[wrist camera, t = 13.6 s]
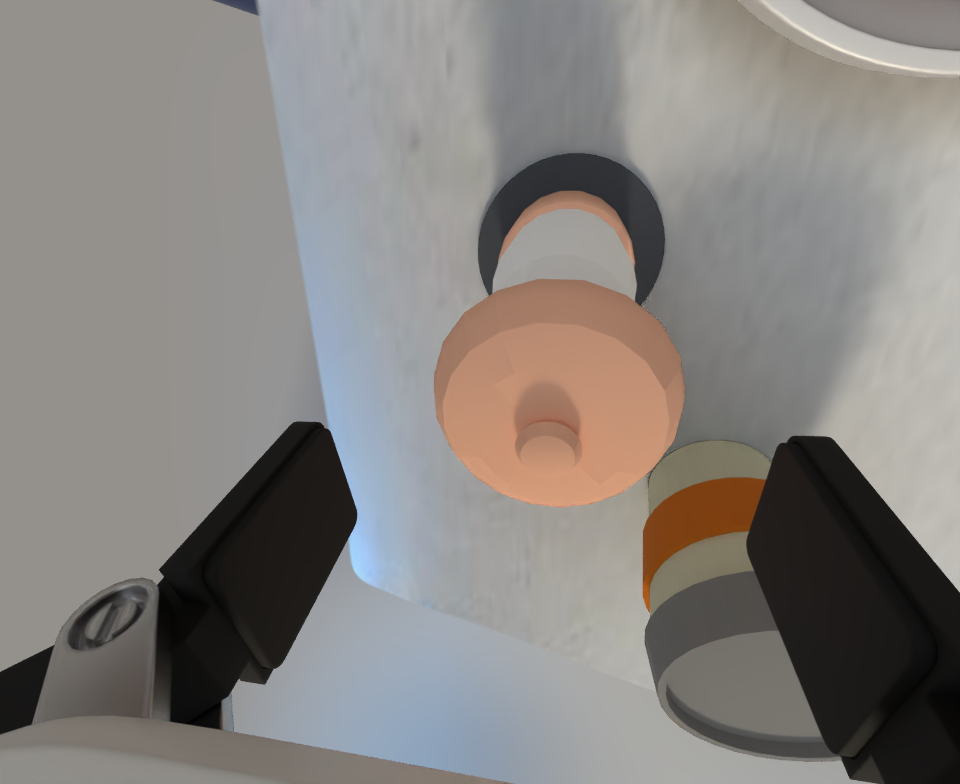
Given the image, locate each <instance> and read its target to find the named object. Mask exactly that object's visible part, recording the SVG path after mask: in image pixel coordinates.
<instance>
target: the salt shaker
mask: <svg viewBox="0 0 960 784" xmlns="http://www.w3.org/2000/svg"><path fill="white" fill-rule="evenodd" d="M634 266H635V259H634V253H633V247H632V242H631V239H630V237H629V235H628V232H627V230H626V228H625V226H624V225H623V223H622V221H621V219H620V218H619V216H618V214H617V212H616V211H615V210H614V209H613V208H612V207H611V206H609V205H608V204H607V203H606V202H605V201H603V200H602V199H601V198H600V197H597V196H594V195H591V194H588V193H586V192H583V191H558V192H555V193H552V194H550V195H547V196H544V197H541V198H539V199H538V200H537V201H535V202H534V203H533V204H531V205H530V206H529V207H527V208H526V209H525V210H524V211H523V212H522V214H521V215H520V216H519V218H518V219H517V221H516V222H515V224H514V225H513V226H512V228H511V229H510V231H509V233H508V234H507V236H506V237H505V239H504V242H503V246H502V249H501V252H500V255H499V258H498V266H497V269H496V272H495V275H494V278H493V292H492V294H491V295H490V296H488V297H487V298H486V299H484V300H483V301H481V302H480V303H478V304H477V305H475V306H474V307H472V308H471V309H469V310H468V311H466V312H465V313H464V314H463V316H462V317H461V318H460V320H459V321H458V322H457V324H456V325H455V326H454V328H453V329H452V331H451V332H450V333H449V335H448V336H447V337H446V339H445V340H444V342H443V345H442V348H441V352H440V356H439V359H438V363H437V366H436V370H435V375H434V393H435V404H436V415H437V419H438V421H439V424H440V426H441V428H442V430H443V432H444V435H445V437H446V439H447V441H448V443H449V446H450V447H451V448H452V450H453V451H454V453H455V454H456V456H457V457H458V458H459V459H460V460H461V461H462V463H463V464H464V465H465V466H466V467H467V468H468V469H469V470H470V472H471V473H472V474H473V475H474V476H475V477H476V478H478V479H479V480H481V481H482V482H484V483H485V484H487V485H488V486H490V487H491V488H493V489H494V490H496V491H498V492H499V493H501V494H504V495H507V496H509V497H512V498H515V499H518V500H521V501H523V502H526V503H529V504H537V505H545V506H554V507H567V506H577V505H586V504H592V503H595V502H598V501H601V500H603V499H606V498H609V497H612V496H614V495H617V494H620V493H622V492H623V491H624V490H626V489H627V488H628V487H630V486H631V485H633V484H634V483H635V482H637V481H638V480H640V479H641V478H642V477H644V476H645V475H646V474H647V473H648V472H650V471H651V470H652V469H653V468H654V467H655V466H656V464H657V463H658V462H659V460H660V459H661V458H662V456H663V455H664V453H665V452H666V451H667V449H668V448H669V447H670V445H671V444H672V442H673V441H674V440H675V436H676V433H677V429H678V425H679V421H680V417H681V414H682V410H683V406H684V398H685V386H684V379H683V371H682V364H681V357H680V355H679V353H678V351H677V349H676V348H675V346H674V344H673V343H672V341H671V339H670V338H669V336H668V334H667V332H666V331H665V329H664V327H663V326H662V324H661V322H660V321H658V320H657V319H656V318H655V317H653V316H652V315H651V314H650V313H648V312H647V311H646V310H645V309H643V308H642V307H641V306H640V305H638V304H637V303H636V302H635V295H636V288H637V283H636V277H635V271H634Z"/></svg>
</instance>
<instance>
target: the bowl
mask: <svg viewBox="0 0 960 784" xmlns="http://www.w3.org/2000/svg"><path fill="white" fill-rule="evenodd" d="M737 1H738V2H739V3H740V4H741V5H742V6H743V7H745V8H746V9H747V10H748V11H749V12H750V13H751V14H753V15H754V16H755V17H756V18H757V19H759V20H760V21H761V22H763V23H764V24H766V25H767V26H768V27H770V28H771V29H772V30H774V31H775V32H777V33H778V34H780V35H782V36H783V37H785V38H787V39H789V40H790V41H792V42H794V43H795V44H797V45H799V46H801V47H803V48H805V49H807V50H810V51H812V52H814V53H816V54H818V55H821V56H823V57H826V58H829V59H832V60H834V61H837V62H840V63H843V64H847V65H850V66H854V67H858V68H862V69H866V70H871V71H877V72H882V73H888V74H894V75H903V76H914V77H930V78H960V0H737Z"/></svg>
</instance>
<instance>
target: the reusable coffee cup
mask: <svg viewBox="0 0 960 784" xmlns="http://www.w3.org/2000/svg"><path fill="white" fill-rule="evenodd" d="M770 466H771V462H770V461H769V460H768V459H767V458H766V457H765V456H764V455H763V454H761V453H760V452H759V451H757V450H755V449H753V448H751V447H749V446H747V445H744V444H740V443H737V442H731V441H724V440H715V441H703V442H697V443H693V444H690V445H687V446H684V447H682V448H680V449H678V450H676V451H673V452H672V453H670V454H669V455H668V456H666V457H665V458H663V459H662V461H661V462H660V463H659V464H658V465H657V466H656V467H655V469H654V471H653V472H652V474H651V477H650V480H649V518H648V519H647V521H646V524H645V527H644V530H643V598H644V601H645V605H646V608H647V609H648V611H649V612H650V619H649V621H648V624H647V626H646V629H645V646H646V650H647V654H648V659H649V663H650V667H651V671H652V675H653V679H654V683H655V687H656V692H657V695H658V698H659V701H660V704H661V707H662V708H663V710H664V711H665V712H666V714H667V715H668V716H669V718H670V719H672V720H673V721H674V722H675V723H676V724H677V725H679V726H680V727H681V728H682V729H684V730H686V731H687V732H689V733H691V734H692V735H694V736H696V737H698V738H700V739H702V740H704V741H707V742H709V743H711V744H714V745H716V746H719V747H722V748H725V749H728V750H732V751H735V752H739V753H743V754H748V755H752V756H757V757H763V758H770V759H778V760H789V761H805V762H816V761H817V762H818V761H840V760H842V759H841V757H840V755H836V754H833V753H832V752H831V751H830V750H829V749H828V747H827V746H826V744H825V742H824V740H823V738H822V736H821V733H820V731H819V729H818V726H817V724H816V721H815V719H814V716H813V714H812V711H811V709H810V707H809V704H808V702H807V699H806V697H805V694H804V692H803V689H802V687H801V684H800V682H799V680H798V677H797V675H796V672H795V670H794V667H793V665H792V662H791V660H790V658H789V655H788V653H787V650H786V648H785V645H784V643H783V640H782V638H781V635H780V633H779V631H778V628H777V626H776V623H775V621H774V618H773V616H772V613H771V611H770V609H769V606H768V604H767V601H766V599H765V596H764V594H763V591H762V589H761V587H760V584H759V582H758V579H757V577H756V574H755V572H754V569H753V567H752V564H751V562H750V560H749V557H748V554H747V548H746V540H747V536H748V533H749V530H750V526H751V523H752V520H753V517H754V514H755V511H756V508H757V505H758V502H759V499H760V496H761V493H762V490H763V487H764V484H765V481H766V478H767V475H768V472H769V469H770Z"/></svg>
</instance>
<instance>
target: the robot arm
mask: <svg viewBox="0 0 960 784" xmlns="http://www.w3.org/2000/svg"><path fill="white" fill-rule="evenodd" d="M356 521H357V509H356V506H355V503H354V500H353V497H352V494H351V491H350V488H349V485H348V482H347V479H346V476H345V473H344V470H343V467H342V464H341V461H340V458H339V455H338V452H337V449H336V446H335V443H334V440H333V437H332V434H331V432H330V431H329V430H328V429H325V428H324V426H323V425H322V424H321V423H319V422H294V423H292V424H291V425H290V426H289V427H288V428H287V429H286V431H285V432H284V433H283V434H282V435H281V436H280V437H279V438H278V439H277V440H276V441H275V443H274V444H273V445H272V446H271V447H270V448H269V449H268V450H267V451H266V452H265V454H264V455H263V456H262V457H261V458H260V459H259V460H258V461H257V462H256V463H255V465H254V466H253V467H252V468H251V469H250V470H249V471H248V472H247V473H246V474H245V476H244V477H243V478H242V479H241V480H240V481H239V482H238V483H237V485H235V487H234V488H233V489H232V490H231V491H230V492H229V493H228V494H227V495H226V497H225V498H224V499H223V500H222V501H221V502H220V503H219V504H218V505H217V506H216V507H215V509H214V510H213V511H212V512H211V513H210V514H209V515H208V516H207V517H206V518H205V520H204V521H203V522H202V523H201V524H200V525H199V526H198V527H197V529H196V530H195V531H194V532H193V533H192V534H191V535H190V536H189V537H188V538H187V539H186V540H185V542H184V543H183V544H182V545H181V546H180V547H179V548H178V549H177V550H176V551H175V553H174V554H173V555H172V556H171V557H170V558H169V559H168V560H167V561H166V563H165V564H164V565H163V566H162V567H161V568H160V569H159V571H160V572H161V573H162V575H164V578H163V579H162V580H161V581H160V582H159V584H158V585H156V584H155V583H154V582H153V581H152V580H150V579H146V578H136V579H129V580H125V581H123V582H119V583H116V584H114V585H112V586H110V587H108V588H106V589H104V590H102V591H100V592H99V593H97V594H96V595H94V596H93V597H92V598H90V599H89V600H87V601H86V602H85V603H84V604H83V605H81V606H80V607H79V608H78V609H77V610H76V611H75V612H74V613H73V614H72V615H71V616H70V617H69V619H68V620H67V621H66V622H65V624H64V625H63V626H62V628H61V630H60V633H59V634H58V636H57V639H56V641H55V645H53V646H51V647H49V648H47V649H45V650H43V651H42V652H39V653H37V654H35V655H33V656H31V657H29V658H27V659H25V660H23V661H21V662H19V663H17V664H15V665H13V666H11V667H9V668H7V669H5V670H3V671H1V672H0V784H513V783H507V782H502V781H497V780H491V779H486V778H480V777H475V776H470V775H465V774H460V773H454V772H449V771H444V770H438V769H433V768H427V767H422V766H417V765H411V764H406V763H401V762H395V761H389V760H385V759H379V758H374V757H368V756H363V755H357V754H352V753H346V752H341V751H335V750H330V749H325V748H319V747H313V746H308V745H302V744H296V743H292V742H286V741H280V740H275V739H270V738H264V737H258V736H253V735H247V734H242V733H237V732H234V723H233V710H232V695H231V691H232V689H233V688H234V686H235V684H236V682H237V680H238V679H240V680H241V681H245V682H252V683H258V684H266V682H267V680H268V678H269V676H270V674H271V673H272V671H273V669H276V668H277V667H279V666H280V665H281V664H282V663H283V661H284V660H285V658H286V656H287V654H288V652H289V650H290V648H291V647H292V645H293V642H294V641H295V639H296V637H297V635H298V633H299V631H300V629H301V628H302V626H303V624H304V622H305V619H306V618H307V616H308V614H309V612H310V610H311V608H312V607H313V605H314V603H315V601H316V599H317V597H318V595H319V593H320V591H321V590H322V588H323V586H324V584H325V582H326V580H327V578H328V576H329V574H330V572H331V570H332V569H333V566H334V565H335V563H336V561H337V559H338V557H339V555H340V553H341V551H342V550H343V548H344V546H345V544H346V542H347V540H348V538H349V536H350V534H351V533H352V531H353V529H354V527H355V524H356ZM746 548H747V554H748V557H749V560H750V562H751V564H752V567H753V569H754V572H755V574H756V577H757V579H758V582H759V584H760V587H761V589H762V591H763V594H764V596H765V599H766V601H767V604H768V606H769V609H770V611H771V613H772V616H773V618H774V621H775V623H776V626H777V628H778V631H779V633H780V635H781V638H782V640H783V643H784V645H785V648H786V650H787V653H788V655H789V658H790V660H791V662H792V665H793V667H794V670H795V672H796V675H797V677H798V680H799V682H800V684H801V687H802V689H803V692H804V694H805V697H806V699H807V702H808V704H809V707H810V709H811V711H812V714H813V716H814V719H815V721H816V724H817V726H818V729H819V731H820V733H821V736H822V738H823V740H824V742H825V744H826V746H827V747H828V749H829V750H830V751H831V752H832V753H833V754H836V755H840V757H841V759H842V762H843V764H844V766H845V769H846V771H847V773H848V776H849V778H850V779H852V780H858V781H865V782H871V783H877V784H960V593H959V591H958V590H957V589H956V588H955V586H954V585H953V584H952V583H951V582H950V580H949V579H948V578H947V577H946V576H945V574H944V573H943V572H942V571H941V569H940V568H939V567H938V566H937V565H936V563H935V562H934V561H933V560H932V558H931V557H930V556H929V555H928V554H927V552H926V551H925V550H924V549H923V548H922V546H921V545H920V544H919V543H918V541H917V540H916V539H915V538H914V537H913V535H912V534H911V533H910V532H909V531H908V529H907V528H906V527H905V526H904V524H903V523H902V522H901V521H900V520H899V518H898V517H897V516H896V515H895V514H894V512H893V511H892V510H891V509H890V507H889V506H888V505H887V504H886V503H885V501H884V500H883V499H882V498H881V497H880V495H879V494H878V493H877V492H876V490H875V489H874V488H873V487H872V486H871V484H870V483H869V482H868V481H867V479H866V478H865V477H864V476H863V475H862V473H861V472H860V471H859V470H858V469H857V467H856V466H855V465H854V464H853V462H852V461H851V460H850V459H849V458H848V456H847V455H846V454H845V453H844V452H843V450H842V449H841V448H840V447H839V445H838V444H837V443H836V442H835V441H834V440H833V439H832V438H830V437H824V436H792V437H790V438H789V439H788V441H787V443H780V444H779V445H778V447H777V449H776V451H775V454H774V457H773V460H772V463H771V466H770V469H769V472H768V475H767V478H766V481H765V484H764V487H763V490H762V493H761V496H760V499H759V502H758V505H757V508H756V511H755V514H754V517H753V520H752V523H751V526H750V530H749V533H748V536H747V540H746Z"/></svg>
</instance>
